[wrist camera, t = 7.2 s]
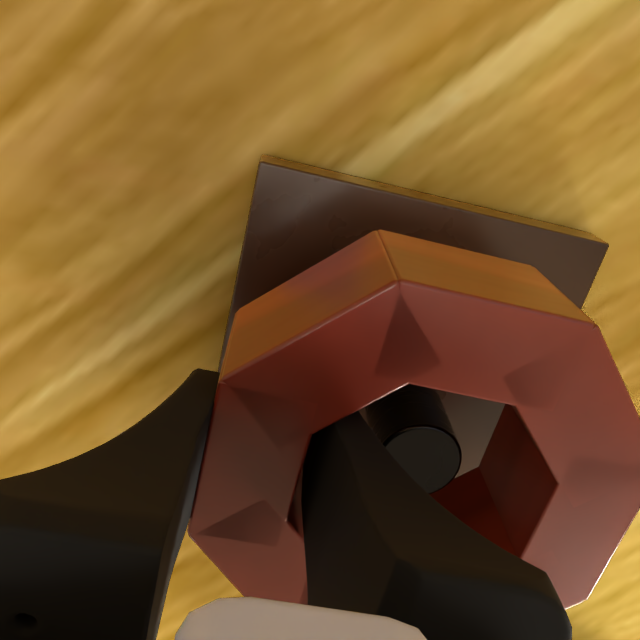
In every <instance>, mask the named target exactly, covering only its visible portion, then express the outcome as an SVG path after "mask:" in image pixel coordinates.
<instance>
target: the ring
mask: <svg viewBox="0 0 640 640" xmlns="http://www.w3.org/2000/svg"><path fill="white" fill-rule="evenodd" d="M408 384H413V385H417V386H422V387H427V388H432V389H437V390H442V391H446V392H451V393H456V394H461V395H466V396H470V397H475V398H480V399H485V400H490V401H494V402H499V403H504V404H505V406H504V408H503V411H502V413H501V415H500V418H499V420H498V422H497V425H496V427H495V429H494V432H493V434H492V436H491V439H490V441H489V443H488V446H487V448H486V450H485V453H484V455H483V457H482V460H481V462H480V464H479V467H477V468H475V469H473V470H471V471H469V472H466V473H464V474H462V475H460V476H458V477H456V478H454V479H453V480H452V481H451V482H450V483H449V484H448V485H447V486H445V487H444V488H443V489H441V490H439V491H437V492H434V493H432V494H429V495H430V496H431V497H432V498H433V499H435V500H436V501H437V502H438V503H439V504H440V505H442V506H443V507H444V508H445V509H447V510H448V511H449V512H450V513H452V514H453V515H454V516H456V517H457V518H458V519H459V520H461V521H462V522H463V523H465V524H466V525H467V526H469V527H470V528H472V529H473V530H475V531H476V532H477V533H479V534H480V535H482V536H483V537H485V538H487V539H488V540H490V541H491V542H493V543H494V544H496V545H498V546H499V547H501V548H502V549H504V550H506V551H507V552H509V553H511V554H513V555H515V556H517V557H519V558H520V559H522V560H524V561H526V562H528V563H530V564H532V565H533V566H535V567H537V568H539V569H541V570H543V571H545V572H546V573H547V575H548V577H549V578H550V580H551V582H552V584H553V586H554V588H555V590H556V592H557V594H558V596H559V598H560V600H561V602H562V605H563V607H564V609H568V608H570V607H573V606H575V605H577V604H580V603H582V602H583V601H584V600H587V599H588V598H589V596H590V594H591V593H592V591H593V589H594V587H595V586H596V584H597V582H598V580H599V579H600V577H601V575H602V573H603V572H604V570H605V568H606V566H607V565H608V563H609V561H610V559H611V558H612V556H613V554H614V552H615V551H616V549H617V547H618V545H619V544H620V542H621V540H622V538H623V537H624V535H625V533H626V532H627V530H628V528H629V526H630V525H631V523H632V521H633V519H634V518H635V516H636V514H637V512H638V511H639V509H640V417H639V415H638V413H637V411H636V408H635V406H634V404H633V402H632V399H631V397H630V395H629V393H628V391H627V388H626V386H625V384H624V382H623V380H622V377H621V375H620V373H619V371H618V369H617V366H616V364H615V362H614V360H613V358H612V355H611V353H610V351H609V349H608V347H607V344H606V342H605V340H604V338H603V335H602V333H601V331H600V329H599V327H598V325H597V324H596V323H594V322H593V321H592V320H591V319H590V318H589V317H588V316H587V315H586V314H585V313H584V312H583V311H581V310H580V309H579V308H578V307H577V306H576V305H575V304H574V303H573V302H572V301H571V300H570V299H568V298H567V297H566V296H565V295H564V294H563V293H562V292H561V291H560V290H559V289H558V288H557V287H555V286H554V285H553V284H552V283H551V282H550V281H549V280H548V279H547V278H546V277H545V276H544V275H542V274H541V273H540V272H539V271H538V270H537V269H536V268H535V267H532V266H531V265H527V264H523V263H519V262H515V261H511V260H507V259H502V258H498V257H494V256H490V255H486V254H481V253H477V252H473V251H469V250H465V249H460V248H456V247H452V246H448V245H444V244H440V243H435V242H431V241H427V240H423V239H419V238H414V237H410V236H406V235H402V234H398V233H393V232H389V231H385V230H378V231H372V232H371V233H369V234H367V235H365V236H364V237H362V238H360V239H359V240H357V241H355V242H353V243H352V244H350V245H348V246H346V247H345V248H343V249H341V250H340V251H338V252H336V253H334V254H333V255H331V256H329V257H328V258H326V259H324V260H322V261H321V262H319V263H317V264H316V265H314V266H312V267H310V268H309V269H307V270H305V271H304V272H302V273H300V274H298V275H297V276H295V277H293V278H291V279H290V280H288V281H286V282H285V283H283V284H281V285H279V286H278V287H276V288H274V289H273V290H271V291H269V292H267V293H266V294H264V295H262V296H261V297H259V298H257V299H255V300H254V301H252V302H250V303H249V304H247V305H245V306H243V307H242V308H240V309H239V310H238V311H237V312H236V313H235V316H234V320H233V324H232V328H231V332H230V336H229V340H228V344H227V348H226V352H225V356H224V360H223V364H222V368H221V372H220V376H219V380H218V384H217V389H216V394H215V399H214V403H213V408H212V413H211V418H210V422H209V427H208V432H207V437H206V442H205V447H204V452H203V457H202V462H201V466H200V471H199V476H198V481H197V486H196V491H195V496H194V501H193V506H192V511H191V516H190V520H189V523H188V528H187V531H188V535H189V537H190V538H191V539H192V540H193V541H194V542H195V543H196V544H197V545H198V546H199V548H200V549H201V550H202V551H203V552H204V553H205V554H206V555H207V556H208V557H209V559H210V560H211V561H212V562H213V563H214V564H215V565H216V566H217V567H218V569H219V570H220V571H221V572H222V573H223V574H224V575H225V576H226V577H227V578H228V580H229V581H230V582H231V583H232V584H233V585H234V586H235V587H236V588H237V589H238V591H239V592H240V593H241V594H242V595H243V596H244V597H256V598H263V599H270V600H277V601H284V602H290V603H297V604H304V605H308V593H307V574H306V561H305V548H304V535H303V521H302V506H301V494H302V477H303V464H304V461H305V457H306V454H307V450H308V447H309V443H310V440H311V437H312V434H314V433H316V432H318V431H319V430H321V429H323V428H325V427H327V426H329V425H331V424H333V423H335V422H337V421H339V420H341V419H342V418H344V417H346V416H348V415H350V414H352V413H354V412H356V411H358V410H360V409H362V408H364V407H365V406H367V405H369V404H371V403H373V402H375V401H377V400H379V399H381V398H383V397H385V396H386V395H388V394H390V393H392V392H394V391H396V390H398V389H400V388H402V387H404V386H406V385H408Z"/></svg>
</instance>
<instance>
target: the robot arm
mask: <svg viewBox="0 0 640 640" xmlns="http://www.w3.org/2000/svg"><path fill="white" fill-rule="evenodd" d="M219 376H220V372H214V371H209V370H204V369H199V368H198V369H196V370H194V371H193V372H192V373H191V374H190V376H189V377H188V378H187V379H186V380H185V381H184V383H183V384H182V385H181V386H180V387H179V388H178V389H177V390H176V391H175V392H174V393H173V394H172V395H170V396H169V397H168V398H167V399H166V400H165V401H164V402H163V403H162V404H161V405H159V406H158V407H157V408H156V409H155V410H153V411H152V412H151V413H150V414H148V415H147V416H146V417H144V418H143V419H142V420H140V421H139V422H138V423H136V424H135V425H134V426H132V427H131V428H129V429H128V430H126V431H125V432H123V433H122V434H120V435H118V436H117V437H115V438H113V439H112V440H110V441H108V442H106V443H105V444H103V445H101V446H98V447H96V448H94V449H92V450H90V451H88V452H86V453H83V454H81V455H79V456H77V457H74V458H72V459H69V460H67V461H64V462H61V463H59V464H56V465H53V466H50V467H47V468H44V469H40V470H37V471H34V472H30V473H26V474H22V475H18V476H14V477H10V478H5V479H1V480H0V640H156V637H157V633H158V628H159V624H160V620H161V615H162V611H163V607H164V602H165V598H166V594H167V589H168V585H169V581H170V578H171V574H172V571H173V567H174V564H175V561H176V558H177V555H178V552H179V549H180V546H181V543H182V540H183V537H184V534H185V531H186V528H187V525H188V523H189V520H190V516H191V511H192V506H193V501H194V496H195V491H196V486H197V481H198V476H199V471H200V466H201V462H202V457H203V452H204V447H205V442H206V437H207V432H208V427H209V422H210V418H211V413H212V408H213V403H214V399H215V394H216V389H217V384H218V380H219ZM301 506H302V521H303V535H304V548H305V561H306V574H307V593H308V605H304V604H297V603H290V602H284V601H277V600H270V599H263V598H256V597H233V598H219V599H216V600H214V601H212V602H210V603H208V604H206V605H204V606H202V607H200V608H198V609H196V610H194V611H192V612H189V614H188V615H187V617H186V619H185V620H184V622H183V623H182V625H181V626H180V628H179V630H178V631H177V633H176V635H175V640H572V626H571V624H570V621H569V618H568V616H567V613H566V611H565V609H564V607H563V605H562V602H561V600H560V598H559V596H558V594H557V592H556V590H555V588H554V586H553V584H552V582H551V580H550V578H549V577H548V575H547V573H546V572H545V571H543V570H541V569H539V568H537V567H535V566H533V565H532V564H530V563H528V562H526V561H524V560H522V559H520V558H519V557H517V556H515V555H513V554H511V553H509V552H507V551H506V550H504V549H502V548H501V547H499V546H498V545H496V544H494V543H493V542H491V541H490V540H488V539H487V538H485V537H483V536H482V535H480V534H479V533H477V532H476V531H475V530H473V529H472V528H470V527H469V526H467V525H466V524H465V523H463V522H462V521H461V520H459V519H458V518H457V517H456V516H454V515H453V514H452V513H450V512H449V511H448V510H447V509H445V508H444V507H443V506H442V505H440V504H439V503H438V502H437V501H436V500H435V499H433V498H432V497H431V496H430V495H429V494H428V493H427V492H426V491H425V490H424V489H423V488H422V487H421V486H420V485H419V484H417V483H416V482H415V481H414V480H413V479H412V478H411V476H410V475H409V474H408V473H407V472H406V471H405V470H404V469H403V468H402V467H401V466H400V464H399V463H398V462H397V461H396V460H395V459H394V458H393V456H392V455H391V454H390V453H389V452H388V450H387V449H386V448H385V447H384V445H383V444H382V443H381V441H380V440H379V439H378V438H377V436H376V435H375V434H374V432H373V431H372V429H371V428H370V427H369V425H368V424H367V422H366V421H365V420H364V418H363V417H362V415H361V414H360V412H359V411H356V412H354V413H352V414H350V415H348V416H346V417H344V418H342V419H341V420H339V421H337V422H335V423H333V424H331V425H329V426H327V427H325V428H323V429H321V430H319V431H318V432H316V433H314V434H312V437H311V440H310V443H309V447H308V450H307V454H306V457H305V461H304V464H303V477H302V494H301Z"/></svg>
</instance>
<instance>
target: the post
mask: <svg viewBox="0 0 640 640" xmlns="http://www.w3.org/2000/svg"><path fill="white" fill-rule="evenodd" d="M378 230H385V231H389V232H393V233H398V234H402V235H406V236H410V237H414V238H419V239H423V240H427V241H431V242H435V243H440V244H444V245H448V246H452V247H456V248H460V249H465V250H469V251H473V252H477V253H481V254H486V255H490V256H494V257H498V258H502V259H507V260H511V261H515V262H519V263H523V264H527V265H531V266H532V267H535V268H536V269H537V270H538V271H539V272H540V273H541V274H542V275H544V276H545V277H546V278H547V279H548V280H549V281H550V282H551V283H552V284H553V285H554V286H555V287H557V288H558V289H559V290H560V291H561V292H562V293H563V294H564V295H565V296H566V297H567V298H568V299H570V300H571V301H572V302H573V303H574V304H575V305H576V306H577V307H578V308H579V309H580V310H581V308H582V306H583V303H584V301H585V299H586V297H587V294H588V292H589V290H590V288H591V285H592V283H593V281H594V279H595V276H596V274H597V272H598V270H599V267H600V265H601V263H602V261H603V258H604V256H605V254H606V252H607V249H608V247H609V244H608V243H606V242H604V241H603V240H601V239H600V238H598V237H596V236H595V235H593V234H591V233H589V232H584V231H580V230H576V229H572V228H568V227H564V226H559V225H555V224H551V223H547V222H543V221H539V220H534V219H530V218H526V217H522V216H518V215H514V214H509V213H505V212H501V211H497V210H493V209H489V208H484V207H480V206H476V205H472V204H468V203H464V202H459V201H455V200H451V199H447V198H443V197H439V196H434V195H430V194H426V193H422V192H418V191H414V190H409V189H405V188H401V187H397V186H393V185H389V184H384V183H380V182H376V181H372V180H368V179H364V178H360V177H355V176H351V175H347V174H343V173H339V172H335V171H330V170H326V169H322V168H318V167H314V166H310V165H305V164H301V163H297V162H293V161H289V160H285V159H280V158H276V157H272V156H268V155H262V156H261V159H260V162H259V166H258V171H257V176H256V181H255V186H254V191H253V196H252V201H251V206H250V211H249V216H248V221H247V226H246V231H245V236H244V241H243V246H242V251H241V256H240V261H239V266H238V271H237V276H236V281H235V286H234V291H233V296H232V301H231V306H230V312H229V317H228V322H227V327H226V332H225V337H224V342H223V347H222V352H221V357H220V362H219V367H218V372H221V368H222V364H223V360H224V356H225V352H226V348H227V344H228V340H229V336H230V332H231V328H232V324H233V320H234V316H235V313H236V312H237V311H238V310H239V309H240V308H242V307H243V306H245V305H247V304H249V303H250V302H252V301H254V300H255V299H257V298H259V297H261V296H262V295H264V294H266V293H267V292H269V291H271V290H273V289H274V288H276V287H278V286H279V285H281V284H283V283H285V282H286V281H288V280H290V279H291V278H293V277H295V276H297V275H298V274H300V273H302V272H304V271H305V270H307V269H309V268H310V267H312V266H314V265H316V264H317V263H319V262H321V261H322V260H324V259H326V258H328V257H329V256H331V255H333V254H334V253H336V252H338V251H340V250H341V249H343V248H345V247H346V246H348V245H350V244H352V243H353V242H355V241H357V240H359V239H360V238H362V237H364V236H365V235H367V234H369V233H371V232H372V231H378ZM504 406H505V404H504V403H499V402H494V401H490V400H485V399H480V398H475V397H470V396H466V395H461V394H456V393H451V392H446V391H442V390H437V389H432V388H427V387H422V386H417V385H413V384H408V385H406V386H404V387H402V388H400V389H398V390H396V391H394V392H392V393H390V394H388V395H386V396H385V397H383V398H381V399H379V400H377V401H375V402H373V403H371V404H369V405H367V406H365V407H364V408H362V409H360V410H358V411H359V412H360V414H361V415H362V417H363V418H364V420H365V421H366V422H367V424H368V425H369V427H370V428H371V429H372V431H373V432H374V434H375V435H376V436H377V438H378V439H379V440H380V441H381V443H382V444H383V445H384V447H385V448H386V449H387V450H388V452H389V453H390V454H391V455H392V456H393V458H394V459H395V460H396V461H397V462H398V463H399V464H400V466H401V467H402V468H403V469H404V470H405V471H406V472H407V473H408V474H409V475H410V476H411V478H412V479H413V480H414V481H415V482H416V483H417V484H419V485H420V486H421V487H422V488H423V489H424V490H425V491H426V492H427V493H428V494H432V493H434V492H437V491H439V490H441V489H443V488H444V487H445V486H447V485H448V484H449V483H450V482H451V481H452V480H453V479H454V478H456V477H458V476H460V475H462V474H464V473H466V472H469V471H471V470H473V469H475V468H477V467H479V464H480V462H481V460H482V457H483V455H484V453H485V450H486V448H487V446H488V443H489V441H490V439H491V436H492V434H493V432H494V429H495V427H496V425H497V422H498V420H499V418H500V415H501V413H502V411H503V408H504Z"/></svg>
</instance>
